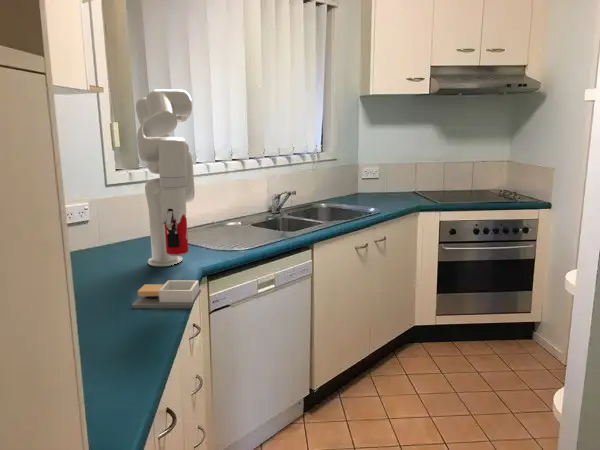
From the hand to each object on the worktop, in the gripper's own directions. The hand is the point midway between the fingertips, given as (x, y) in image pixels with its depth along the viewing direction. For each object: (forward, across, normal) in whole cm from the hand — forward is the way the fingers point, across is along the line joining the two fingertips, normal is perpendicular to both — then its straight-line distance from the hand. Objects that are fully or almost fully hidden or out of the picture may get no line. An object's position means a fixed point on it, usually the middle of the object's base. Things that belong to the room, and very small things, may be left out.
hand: (176, 243), depth 147 cm
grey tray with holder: (+17, 0, -4) cm, 18 cm away
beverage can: (+3, 0, 0) cm, 3 cm away
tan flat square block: (+16, 0, -8) cm, 18 cm away
